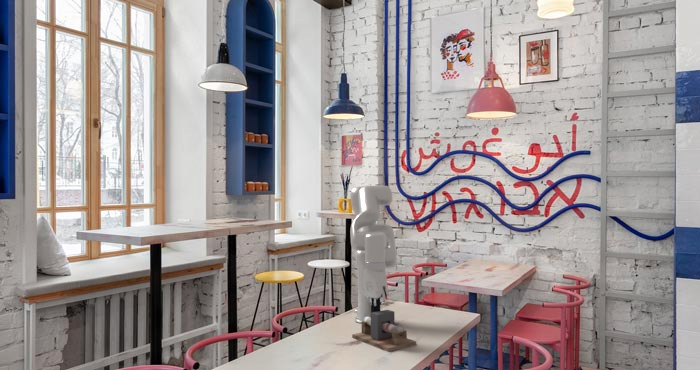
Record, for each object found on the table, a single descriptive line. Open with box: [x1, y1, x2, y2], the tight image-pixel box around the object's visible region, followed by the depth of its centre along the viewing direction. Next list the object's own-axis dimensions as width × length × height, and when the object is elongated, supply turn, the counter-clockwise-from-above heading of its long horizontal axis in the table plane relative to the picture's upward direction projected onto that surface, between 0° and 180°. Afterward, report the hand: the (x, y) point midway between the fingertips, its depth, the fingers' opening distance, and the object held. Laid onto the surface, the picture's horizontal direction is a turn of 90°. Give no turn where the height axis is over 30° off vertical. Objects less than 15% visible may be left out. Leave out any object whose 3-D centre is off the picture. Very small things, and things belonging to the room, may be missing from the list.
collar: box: [371, 309, 396, 340], centre depth 183 cm, size 4×8×9 cm, turn 125°
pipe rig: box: [351, 317, 417, 353], centre depth 183 cm, size 21×13×7 cm, turn 35°
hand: (375, 315), depth 186 cm, fingers closed
